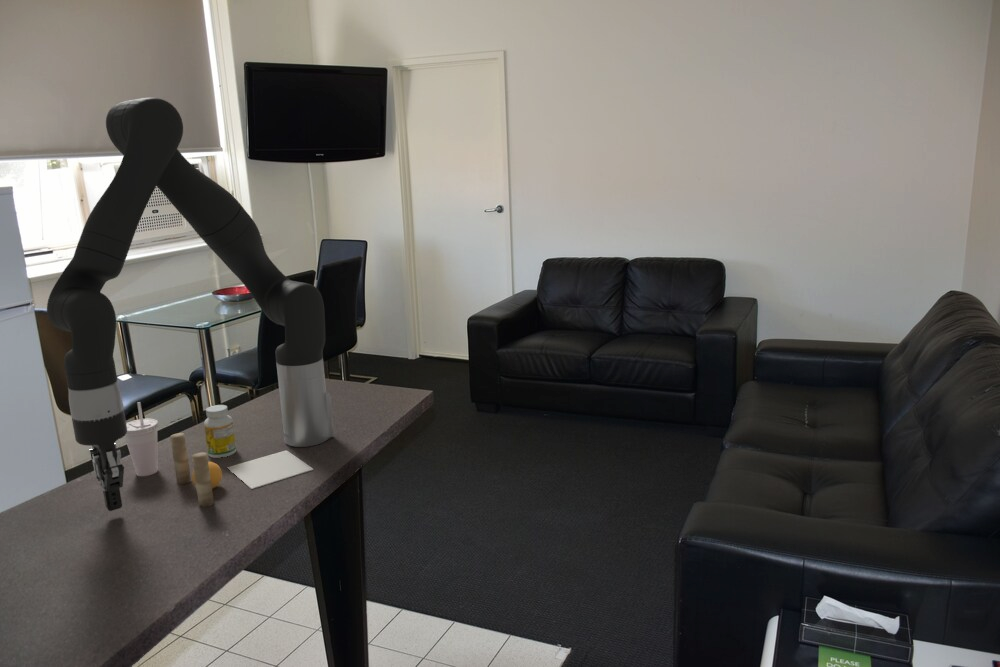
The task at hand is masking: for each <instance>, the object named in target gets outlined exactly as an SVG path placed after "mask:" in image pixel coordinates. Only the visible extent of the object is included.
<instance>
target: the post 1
mask: <svg viewBox="0 0 1000 667" xmlns="http://www.w3.org/2000/svg"><path fill="white" fill-rule="evenodd" d="M169 437H170V442H171V443H170V445H171V449H172V457H173V463H174V471H175V477H176V484H178V485H184V484H188V483H190V482H192V475H191V471H190V470H191V469H190V464H189V456H188V451H187V449H188V448H187V442H186V434H185V433H183V432H179V433H178V432H177V433H174V434H172V435H171V434H170V436H169Z"/></svg>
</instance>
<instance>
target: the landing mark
mask: <svg viewBox="0 0 1000 667" xmlns="http://www.w3.org/2000/svg"><path fill="white" fill-rule="evenodd" d="M227 468H228V469H229V470H230V471H229V470H228V469H227ZM226 469H227V470H228V471H229V472H230V473H232V474H233V473H234V474H235V475H236V476H237V477H236V476H235V475H234V474H233V475H234V476H235V477H236V478H238V480H239V481H241V480H242V481H243V482H244V483H243V482H242V481H241V482H242V483H243V484H245V485H246V486H247V487H248V488H249V489H250V490H254V489H258V488H260V487H263V486H264V487H265V486H267V485H270V484H273V483H276V482H279V481H282V480H286V479H289V478H291V477H296V476H298V475H302V474H305V473H309V472H311V471H314V468H313V467H311V466H310V465H308V464H307V463H306V462H304V461H303V460H301V459H299V457H297V456H295V455H294V454H292V453H291V452H290V451H288V450H282V451H280V452H279V451H278V452H276V453H272V454H268V455H265V456H261V457H258V458H255V459H251V460H247V461H245V462H240V463H238V464H234V465H231V466H227V467H226Z"/></svg>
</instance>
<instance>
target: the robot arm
mask: <svg viewBox="0 0 1000 667" xmlns="http://www.w3.org/2000/svg"><path fill="white" fill-rule="evenodd" d="M105 127H106V132H107V134H108V137H109V140H110V141H111V143H112V144H113V145H114V147H115V148H116V150H118V151H119V152H120V153H121V154H122V155H123V157H122V160H121V163H120V165H119V166H118V169H117V172H116V173H115V175H114V177H113V179H112V180H111V182H110V184H109V185H108V187H107V188H106V189H105V191H104V192H103V194H102V195H101V197H100V198H99V199H98V201H97V202H96V204H95V205H94V206H93V208H92V210H91V212H90V213H89V214H88V217H87V219H86V222H85V223H84V226H83V229H82V232H81V234H80V237H79V240H78V242H77V246H76V248H75V250H74V254H73V256H72V259H71V260H70V262H69V263H68V264H67V266H66V267H65V268H64V270H63V271H62V273H61V274H60V277H59V278H58V279H57V280H56V283H55V284H54V285H53V287H52V289H51V292H50V293H49V295H48V296H49V297H48V300H47V304H46V313H47V318H48V319H49V321H50V323H51V324H52V325H53V326H54V327H55V328H57V329H58V330H61V331H65V332H68V333H71V349H70V350H69V351H67V352H66V353H65V355H64V357H63V365H64V373H65V377H66V384H67V389H68V406H69V412H70V416H71V422H72V427H73V431H74V432H73V433H74V438H75V441H76V443H77V444H79V445H81V446H91V447H89V449H88V452H89V453H88V454H89V458H90V459H91V460H92V465H93V472H94V473H95V475H96V479H97V481H98V482H99V487H101V489H102V493H103V494H102V495H103V498H104V503H105V504H104V505H105V508H106V509H107V511H108V512H112V511H115V510H119V509H122V507H123V502H122V501H123V500H122V497H121V490H120V488H122V487H123V486H124V476H125V475H124V472H125V467H124V466H123V464H122V463H121V458H122V452H121V449H120V448H119V447H118V446H117V444H116V442H117V441H119V439H122V438H125V435H126V433H127V426H126V423H127V420H126V415H125V409H124V408H125V406H124V402H123V397H122V396H123V395H122V392H121V388H120V385H119V380H118V376H117V370H116V365H115V364H116V362H115V359H114V351H115V350H114V349H115V344H116V335H117V334H116V333H117V331H116V330H117V315H116V312H115V309H114V306H113V303H112V302H111V300H110V299H109V297H108V296H106V294H104V293H102V292H101V291H102V290H103V288H104V286H105V284H106V283H108V281H110V280H113V279H116V278H117V277H119V275H120V274H121V272H122V271H123V268H124V266H125V265H124V264H125V262H126V259H127V256H128V254H129V252H130V248H131V245H132V243H133V239H134V236H135V235H136V231H137V230H138V229H137V228H138V226H139V223H140V221H141V218H142V216H143V214H144V211H145V210H146V207H147V205H148V203H149V201H150V199H151V196H153V195H152V194H153V193H154V191H155V189H156V187H157V188H158V189H159V190H160V191H161V192H162V194H163V195H164V196H165V197H166V199H167V200H168V201H169V202H170V203H171V205H172V206H173V207H174V208H175V209H176V210H177V212H178V213H179V214H180V215H181V216H182V217H183V218H184V220H186V222H188V224H189V225H190V226H191V228H192V229H193V230H194V231H195V233H196V234H197V235H198V236H199V237H200V238H201V239H202V240H203V242H204V243H205V244H206V245H207V246H208V247H209V249H210V250H211V251H212V252H214V253H215V255H216V256H218V258H219V259H220V260H221V261H222V262H223V263H224V264H225V266H226V267H227V268H228V269H229V270H230V271H231V272H232V274H234V275H235V276H236V277H237V279H239V280H240V282H241V283H242V284H243V285H244V286H245V289H246V290H248V292H249V293H250V295H251V296H252V297H253V300H254V301H255V302H256V304H257V305H258V306H259V308H260V310H261V311H262V312H263V314H265V315H264V316H266V317H267V318H268V319H269V320H270V321H272V322H273V323H275V324H276V325H279V326H283V327H284V337H285V338H284V339H285V340H284V343H282V344H280V345H278V346H277V347H275V348H276V349H275V353H274V354H275V363H276V364H275V365H276V370H277V371H276V372H277V381H278V392H279V401H280V410H281V411H280V412H281V420H282V428H283V439H284V444H286V445H288V446H292V447H297V448H298V447H299V448H303V447H304V448H305V447H306V448H307V447H312V446H313V447H314V446H317V445H319V444H323V443H325V442H326V441H327V440H329V439H331V438H333V437H335V435H334V433H335V432H334V423H333V422H334V421H333V412H332V411H333V410H332V399H331V394H330V393H329V392H328V391H327V387H326V377H325V375H326V374H325V366H324V353H323V352H324V347H325V344H326V318H325V316H326V315H325V304H324V300H323V295H322V293H321V291H320V290H319V289H318V288H317V287H316V286H314V285H313V284H311V283H306V282H301V281H296V280H291V279H290V278H288V277H287V276H286V275H285V274H284V273H283V272H282V271H281V270H280V269H279V268H278V267H277V266H276V265H275V264H274V262H273V261H272V260H271V259H270V257H269V256H268V254H267V251H266V249H265V245H264V243H263V240H262V236H261V232H260V230H259V228H258V226H257V224H256V223H255V221H254V219H253V218H252V217H251V215H250V214H249V213H248V212H247V210H245V208H244V206H242V204H241V203H240V202H239V201H238V200H237V198H236V197H235V196H234V195H232V193H231V192H229V191H228V190H227V189H225V188H224V187H223V186H222V185H221V184H219V183H218V182H216V181H215V180H213V179H212V178H210V177H209V176H207V175H206V174H204V173H203V172H202V171H200V170H199V169H198V168H196V167H195V166H194V165H193V164H191V163H190V162H189V160H187V159H186V158H185V156H184V155H183V154H182V153H181V152H180V151H179V149H178V148H179V145H180V143H181V141H182V139H183V135H184V122H183V118H182V116H181V114H180V113H179V111H178V110H177V108H176V107H175V106H174V105H173V104H172V103H170V102H169V101H168V100H165V99H162V98H160V97H141V98H136V99H130V100H125V101H122V102H119V103H117V104H115V105H113V106H112V107H110V109H109V110H108V112H107V114H106V118H105Z"/></svg>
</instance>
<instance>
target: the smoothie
mask: <svg viewBox="0 0 1000 667" xmlns="http://www.w3.org/2000/svg"><path fill="white" fill-rule="evenodd" d="M136 404H137V410H138V416H139V417H138V418H139V419H134V420H131V421H128V422H126V426H127V433H126V435H125V436H124V439H125V443H126V445H127V448H128V452H129V455H130V458H131V461H132V464H133V467H134V471H135V474H136V475H137V476H138V477H148V476H151V475H154V474H156V473H157V472H158V470H159V468H158V466H159V465H158V461H159V460H158V453H159V452H158V429H159V427H160V426H159V421H158V420H157V419H155V418H143V417H144V416H143V410H142V404H141V401H139V402H138V401H137V403H136Z"/></svg>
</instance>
